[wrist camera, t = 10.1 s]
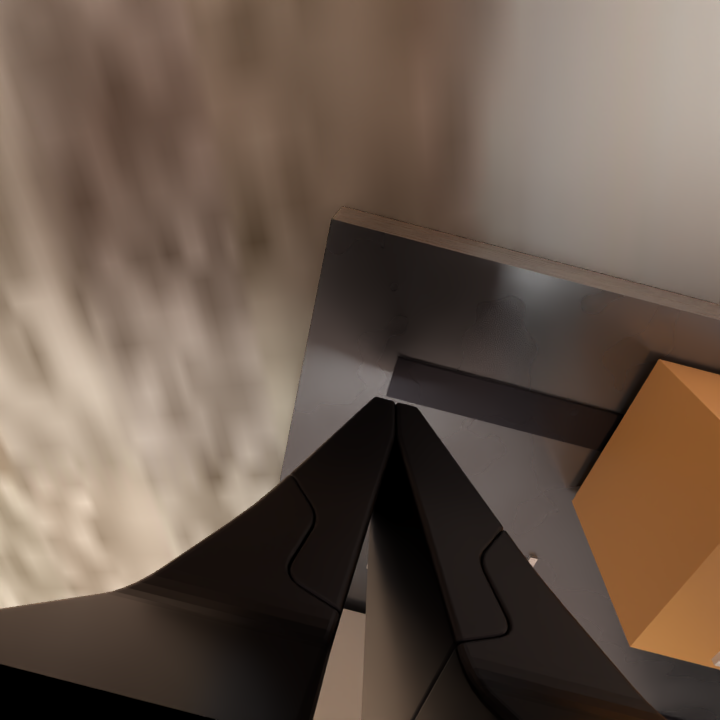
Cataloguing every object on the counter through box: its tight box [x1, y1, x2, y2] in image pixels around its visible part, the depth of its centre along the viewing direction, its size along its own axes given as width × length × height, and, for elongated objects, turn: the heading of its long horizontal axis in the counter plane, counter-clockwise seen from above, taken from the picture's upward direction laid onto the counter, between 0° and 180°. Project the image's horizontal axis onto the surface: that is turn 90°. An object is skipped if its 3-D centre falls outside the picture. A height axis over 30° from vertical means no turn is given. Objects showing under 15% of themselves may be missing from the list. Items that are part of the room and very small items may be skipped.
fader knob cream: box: [313, 609, 366, 720], centre depth 13 cm, size 3×4×4 cm
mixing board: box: [280, 206, 720, 720], centre depth 13 cm, size 22×16×2 cm
